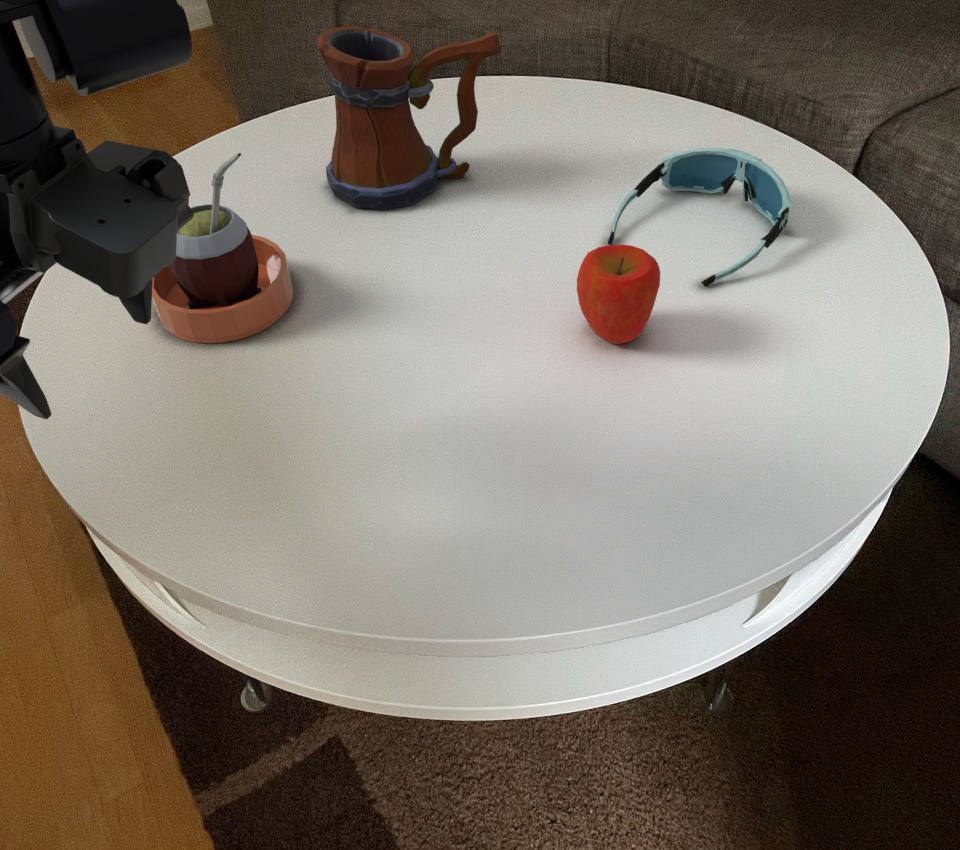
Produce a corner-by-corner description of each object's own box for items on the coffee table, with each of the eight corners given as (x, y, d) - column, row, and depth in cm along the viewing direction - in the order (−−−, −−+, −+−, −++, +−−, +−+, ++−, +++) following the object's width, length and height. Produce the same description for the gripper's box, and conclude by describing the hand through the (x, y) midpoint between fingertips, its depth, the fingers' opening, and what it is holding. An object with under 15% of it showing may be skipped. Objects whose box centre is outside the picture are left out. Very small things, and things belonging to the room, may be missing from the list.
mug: (500, 147, 97) (496, 2, 87) (508, 204, 89) (504, 51, 78) (331, 158, 97) (307, 13, 86) (324, 216, 89) (296, 64, 78)
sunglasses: (809, 220, 85) (817, 174, 81) (721, 313, 78) (725, 268, 75) (680, 172, 92) (682, 128, 88) (590, 254, 85) (588, 211, 82)
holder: (131, 326, 78) (119, 296, 75) (209, 253, 85) (200, 223, 83) (246, 356, 74) (237, 325, 72) (317, 277, 82) (311, 246, 79)
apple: (562, 343, 74) (565, 266, 68) (595, 302, 77) (600, 226, 72) (634, 367, 71) (642, 289, 66) (665, 323, 75) (675, 246, 70)
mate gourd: (183, 285, 81) (130, 126, 70) (272, 268, 82) (233, 110, 71) (186, 336, 75) (130, 172, 65) (281, 317, 77) (241, 154, 66)
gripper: (-31, 259, 36) (101, 513, 47) (233, 66, 48) (289, 304, 59) (-227, 210, 39) (-60, 459, 50) (66, 42, 51) (149, 271, 62)
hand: (95, 366), depth 55 cm, fingers open, 9 cm apart
